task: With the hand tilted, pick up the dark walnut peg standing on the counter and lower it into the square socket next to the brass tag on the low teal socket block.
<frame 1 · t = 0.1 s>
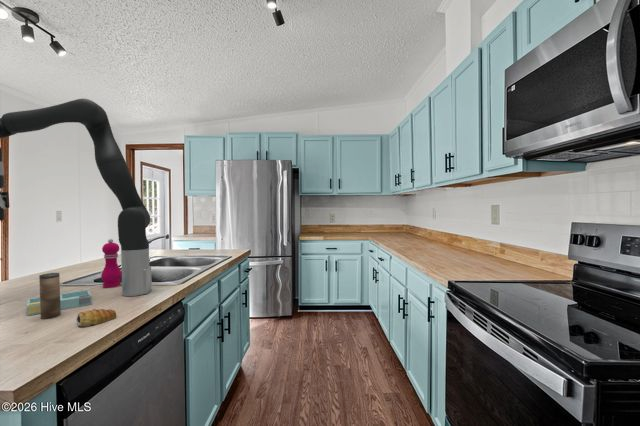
pastry: (94, 323, 89), on the countertop
socket block: (60, 306, 103), on the countertop
walnut peg: (50, 316, 93), on the countertop
pepper mill: (111, 286, 128), on the countertop
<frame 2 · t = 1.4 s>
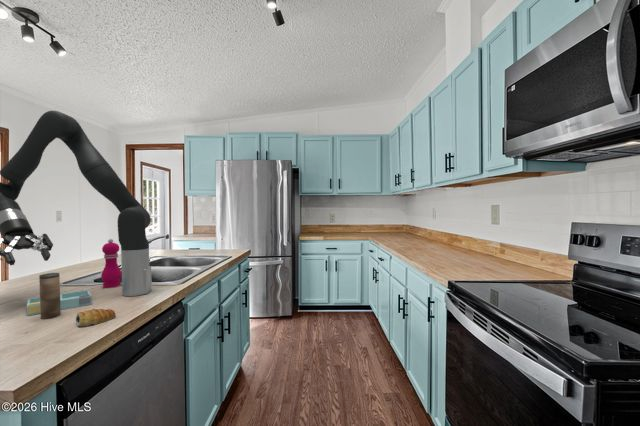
hand: (30, 261, 98), 16 cm above the countertop, tool tilted 45°, fingers open, 8 cm apart
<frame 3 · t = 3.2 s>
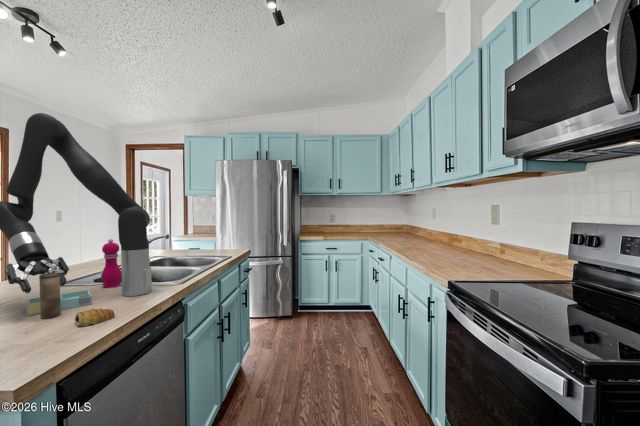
hand: (46, 287, 94), 9 cm above the countertop, tool tilted 45°, fingers open, 8 cm apart
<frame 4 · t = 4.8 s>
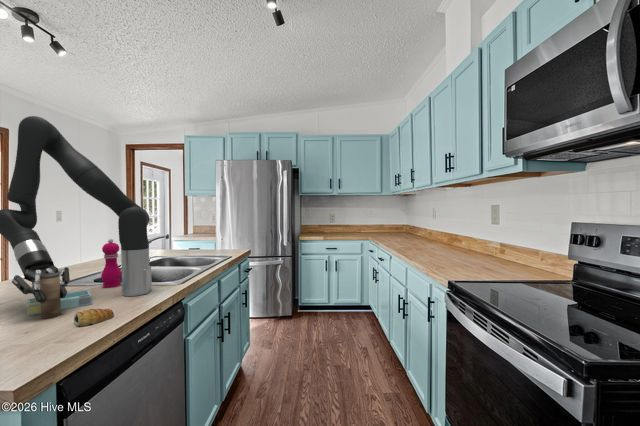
hand: (53, 298, 92), 6 cm above the countertop, tool tilted 45°, fingers closed on walnut peg, 4 cm apart
walnut peg: (51, 316, 93), on the countertop, touching gripper
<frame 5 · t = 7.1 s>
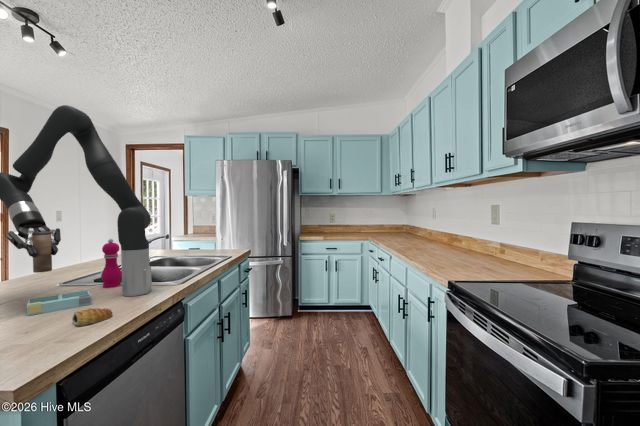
hand: (45, 254, 99), 18 cm above the countertop, tool tilted 45°, fingers closed on walnut peg, 4 cm apart
walnut peg: (42, 271, 100), point 12 cm above the countertop, touching gripper
when the fingers open (7 cm above the countertop, at t = 9.6 s): walnut peg stays where it is, resting on socket block.
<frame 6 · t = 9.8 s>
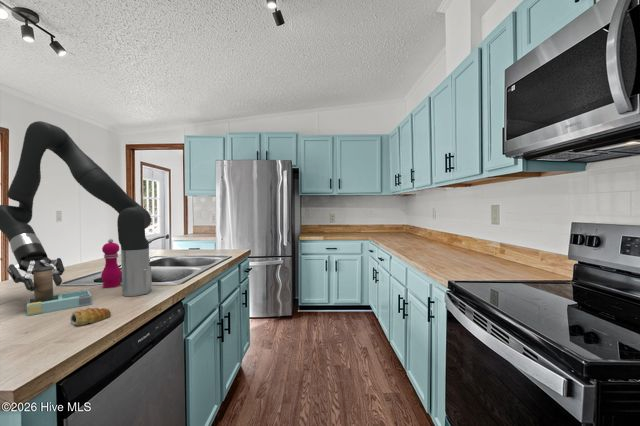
hand: (46, 286, 100), 7 cm above the countertop, tool tilted 45°, fingers open, 6 cm apart
walnut peg: (44, 306, 101), point 1 cm above the countertop, touching socket block
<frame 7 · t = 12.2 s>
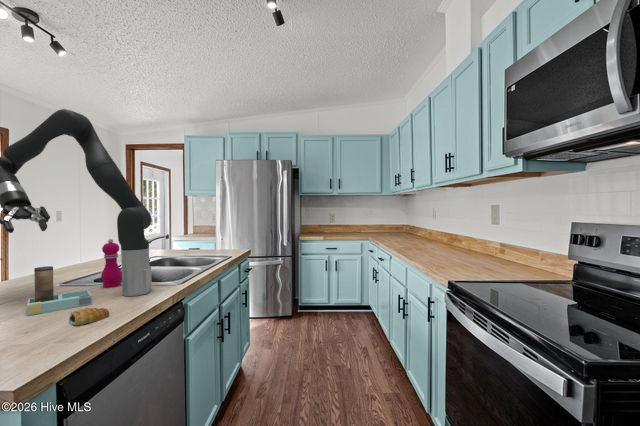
hand: (28, 230, 103), 26 cm above the countertop, tool tilted 45°, fingers open, 8 cm apart
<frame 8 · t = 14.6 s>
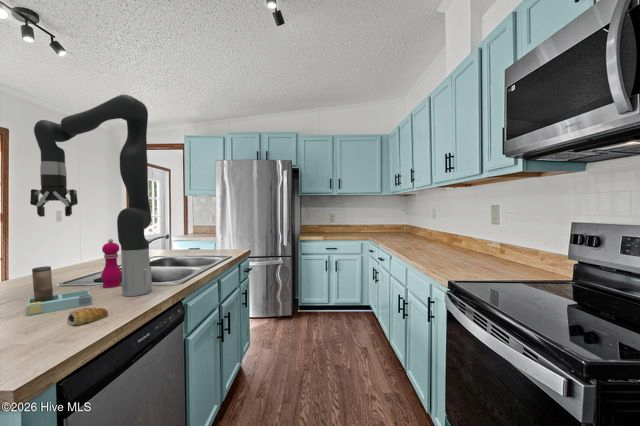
hand: (55, 216, 117), 30 cm above the countertop, tool pointing down, fingers open, 8 cm apart
at the end: walnut peg 0.2 cm from the target spot on the socket block, point 0.6 cm above the socket block's base; walnut peg tilted 2°; the gripper is holding nothing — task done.
